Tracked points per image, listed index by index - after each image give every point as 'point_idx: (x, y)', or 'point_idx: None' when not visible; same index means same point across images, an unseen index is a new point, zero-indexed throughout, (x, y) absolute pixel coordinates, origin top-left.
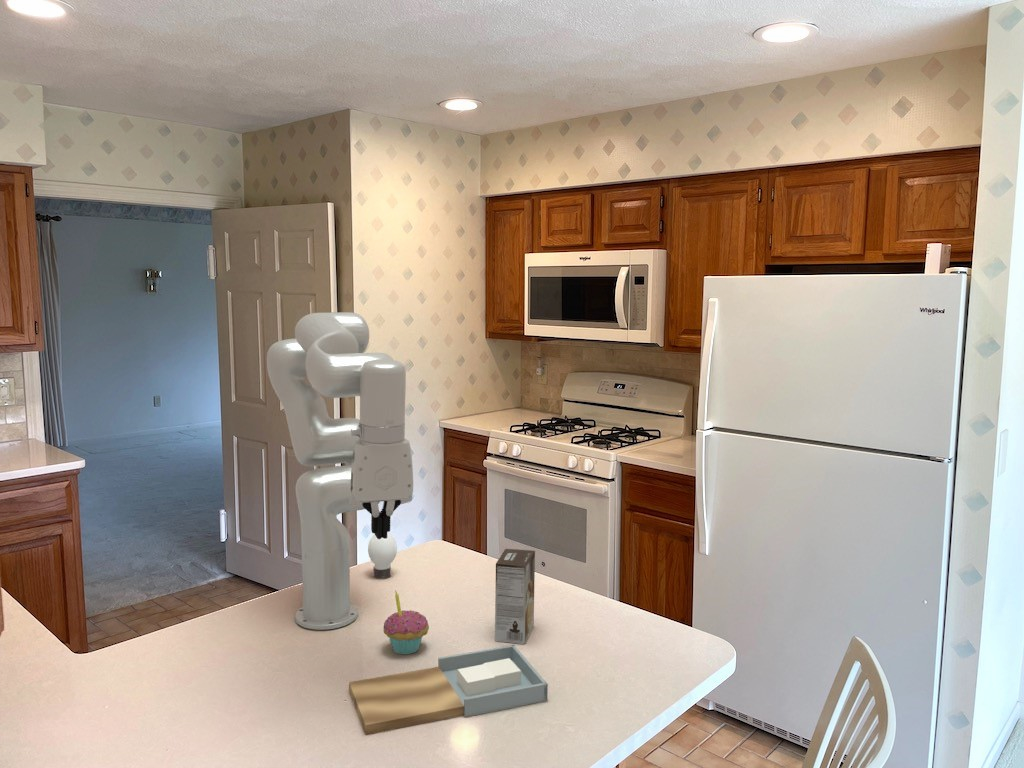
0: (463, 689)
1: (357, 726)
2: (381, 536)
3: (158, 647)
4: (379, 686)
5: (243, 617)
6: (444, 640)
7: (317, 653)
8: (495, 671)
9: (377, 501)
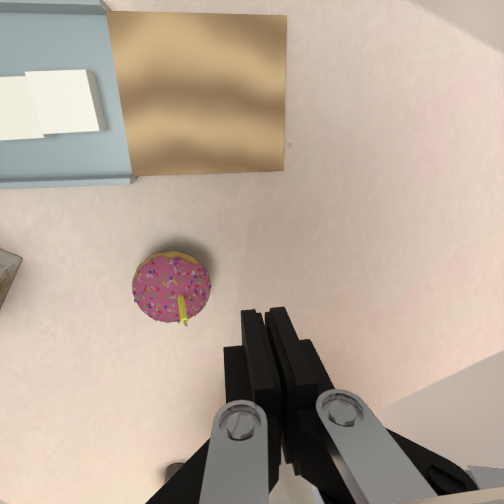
0: (99, 97)
1: (289, 55)
2: (269, 314)
3: (462, 342)
4: (241, 141)
5: (363, 392)
6: (111, 281)
7: (299, 286)
8: (21, 95)
9: (426, 499)
